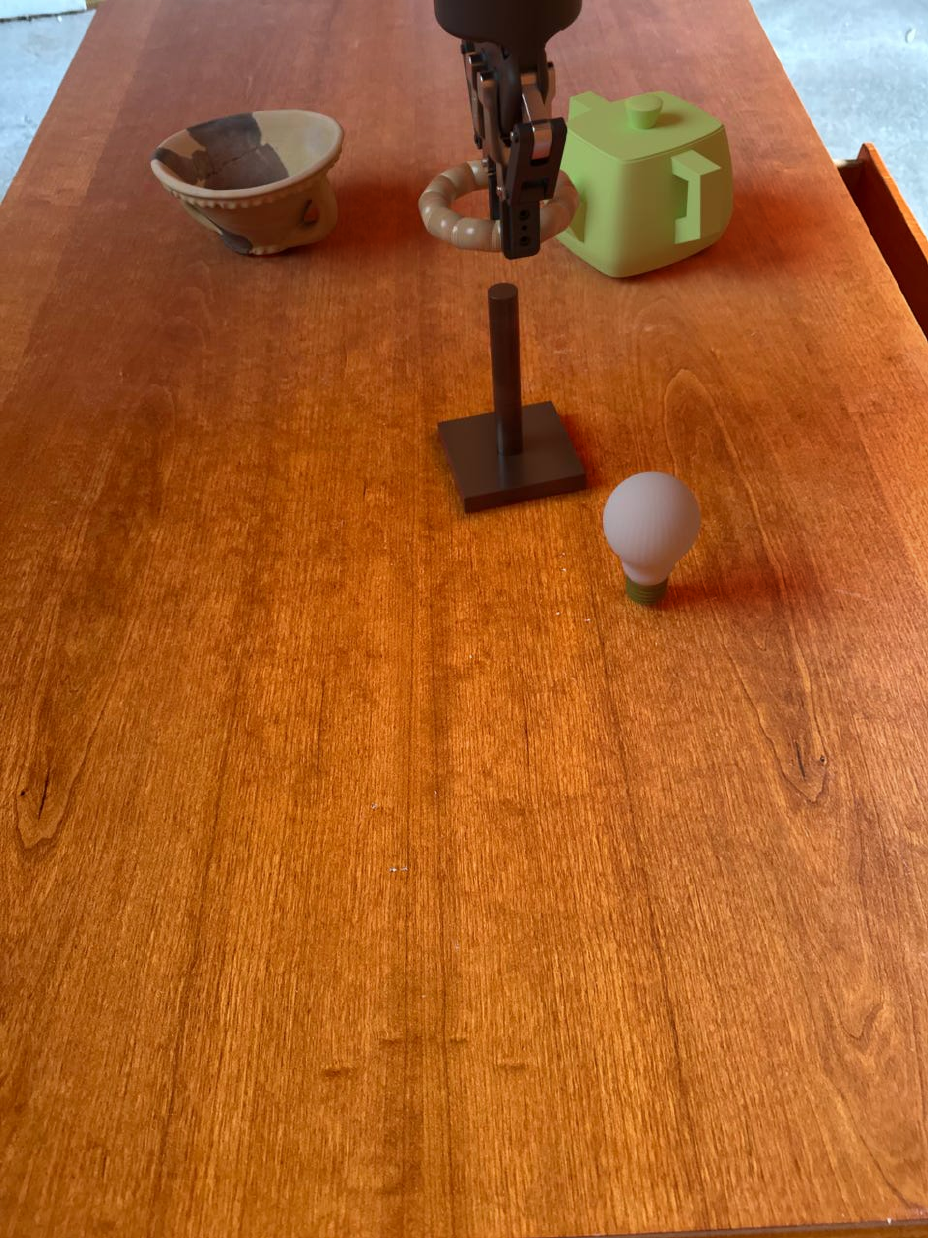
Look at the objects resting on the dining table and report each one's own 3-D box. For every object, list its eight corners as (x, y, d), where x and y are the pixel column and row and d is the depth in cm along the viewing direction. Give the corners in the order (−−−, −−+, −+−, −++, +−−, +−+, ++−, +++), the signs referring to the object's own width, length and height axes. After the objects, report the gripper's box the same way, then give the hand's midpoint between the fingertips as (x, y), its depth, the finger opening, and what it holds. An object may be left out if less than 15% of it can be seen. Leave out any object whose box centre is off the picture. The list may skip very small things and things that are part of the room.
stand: (551, 415, 88) (550, 244, 78) (586, 489, 82) (589, 315, 72) (438, 437, 88) (421, 267, 77) (465, 513, 82) (450, 341, 71)
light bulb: (667, 644, 72) (679, 529, 65) (584, 612, 74) (587, 497, 67) (705, 585, 75) (721, 469, 68) (624, 556, 78) (631, 440, 70)
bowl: (392, 210, 112) (381, 113, 105) (292, 306, 101) (272, 204, 94) (244, 180, 118) (224, 86, 111) (135, 267, 107) (106, 169, 100)
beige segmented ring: (554, 169, 74) (554, 141, 73) (596, 241, 67) (597, 213, 66) (409, 193, 73) (406, 166, 72) (437, 268, 67) (435, 240, 65)
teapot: (599, 335, 95) (603, 186, 86) (475, 236, 107) (467, 96, 98) (770, 264, 101) (792, 117, 91) (634, 178, 113) (641, 40, 103)
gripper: (626, -51, 51) (612, 293, 63) (541, -136, 60) (544, 180, 73) (461, -26, 50) (481, 318, 63) (401, -116, 59) (429, 200, 72)
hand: (515, 242), depth 68 cm, fingers closed on beige segmented ring, 2 cm apart
